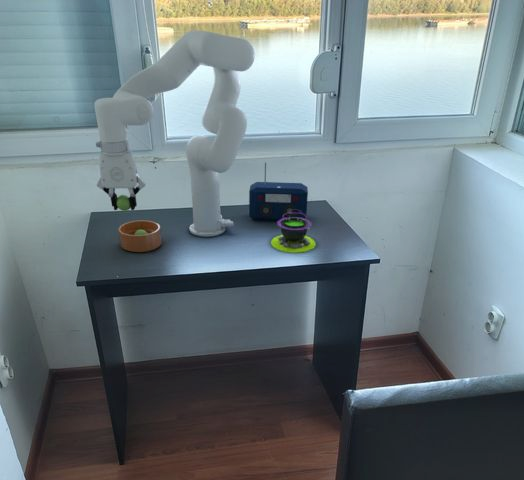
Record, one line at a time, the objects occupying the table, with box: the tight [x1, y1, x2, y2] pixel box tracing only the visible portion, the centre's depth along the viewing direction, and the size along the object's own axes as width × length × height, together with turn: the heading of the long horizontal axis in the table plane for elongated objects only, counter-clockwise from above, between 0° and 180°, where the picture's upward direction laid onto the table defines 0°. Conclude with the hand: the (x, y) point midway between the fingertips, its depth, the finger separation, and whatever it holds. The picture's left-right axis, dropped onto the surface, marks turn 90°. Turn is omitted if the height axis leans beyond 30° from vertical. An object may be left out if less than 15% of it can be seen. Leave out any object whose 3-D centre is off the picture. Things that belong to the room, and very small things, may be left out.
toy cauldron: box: [270, 209, 316, 254], centre depth 172 cm, size 15×15×11 cm
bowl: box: [118, 219, 163, 253], centre depth 170 cm, size 13×13×6 cm
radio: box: [248, 162, 309, 222], centre depth 188 cm, size 21×9×20 cm, turn 87°
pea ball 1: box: [116, 194, 131, 212], centre depth 157 cm, size 5×5×5 cm
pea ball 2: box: [134, 230, 148, 235], centre depth 170 cm, size 5×5×5 cm
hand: (124, 207), depth 158 cm, fingers closed on pea ball 1, 4 cm apart
